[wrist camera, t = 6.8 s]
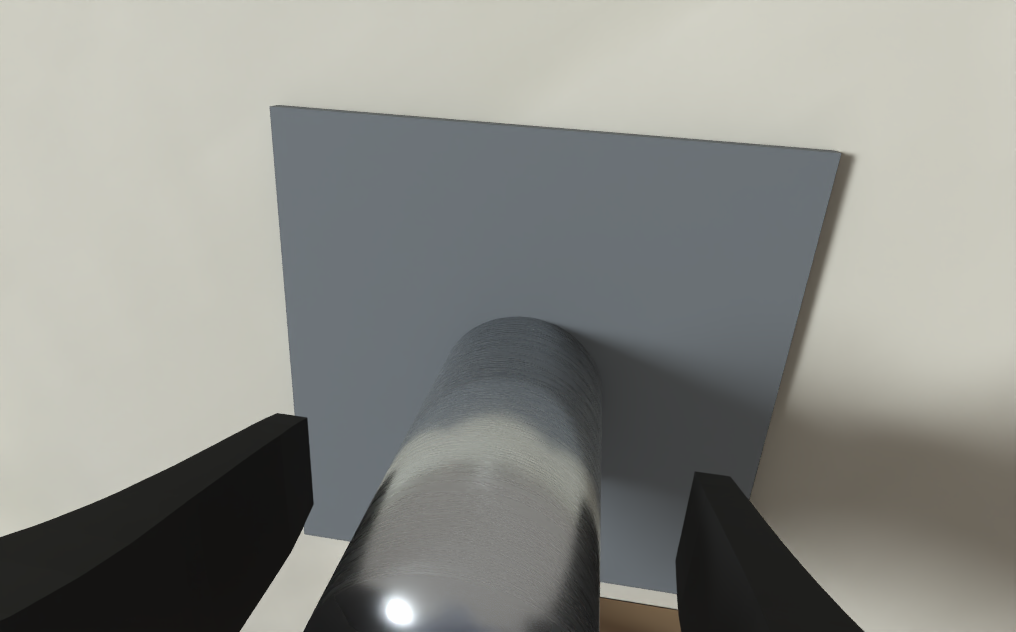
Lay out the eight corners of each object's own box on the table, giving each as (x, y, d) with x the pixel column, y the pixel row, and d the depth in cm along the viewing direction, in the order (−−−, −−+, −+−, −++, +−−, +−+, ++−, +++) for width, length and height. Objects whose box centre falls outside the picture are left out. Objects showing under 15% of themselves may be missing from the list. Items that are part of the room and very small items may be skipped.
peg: (445, 452, 16) (317, 767, 9) (437, 312, 15) (277, 558, 8) (597, 464, 16) (590, 811, 9) (606, 321, 14) (607, 595, 7)
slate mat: (310, 524, 19) (304, 534, 18) (278, 105, 14) (269, 105, 14) (719, 590, 17) (722, 601, 17) (834, 151, 13) (841, 153, 12)
